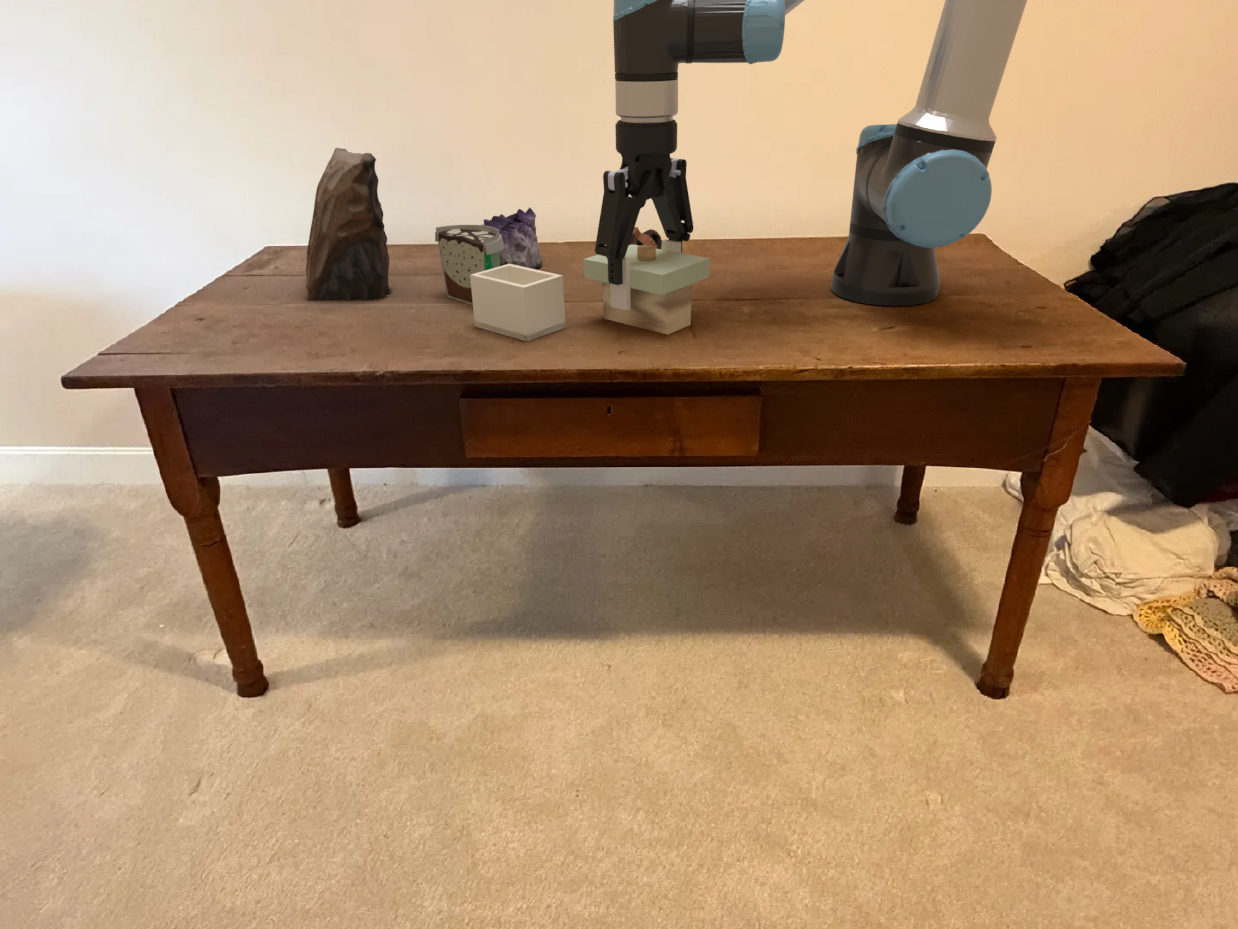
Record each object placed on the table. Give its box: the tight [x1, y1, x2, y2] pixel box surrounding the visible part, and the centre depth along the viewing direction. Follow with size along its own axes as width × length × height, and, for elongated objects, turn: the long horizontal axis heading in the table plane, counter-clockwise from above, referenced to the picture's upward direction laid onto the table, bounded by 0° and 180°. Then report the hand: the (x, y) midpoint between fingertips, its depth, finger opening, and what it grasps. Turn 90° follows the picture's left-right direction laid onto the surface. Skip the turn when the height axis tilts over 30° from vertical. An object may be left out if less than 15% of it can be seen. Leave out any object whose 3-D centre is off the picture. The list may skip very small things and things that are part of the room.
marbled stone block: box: [602, 282, 693, 336], centre depth 114 cm, size 11×5×6 cm, turn 50°
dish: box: [470, 264, 566, 343], centre depth 113 cm, size 10×7×7 cm
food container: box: [434, 224, 504, 306], centre depth 125 cm, size 12×6×10 cm, turn 45°
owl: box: [305, 147, 392, 302], centre depth 127 cm, size 13×13×20 cm
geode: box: [482, 207, 543, 270], centre depth 139 cm, size 20×12×10 cm, turn 172°
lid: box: [583, 244, 711, 295], centre depth 112 cm, size 13×10×4 cm
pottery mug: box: [617, 226, 663, 250], centre depth 137 cm, size 12×10×8 cm
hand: (646, 297), depth 114 cm, fingers closed on lid, 10 cm apart
